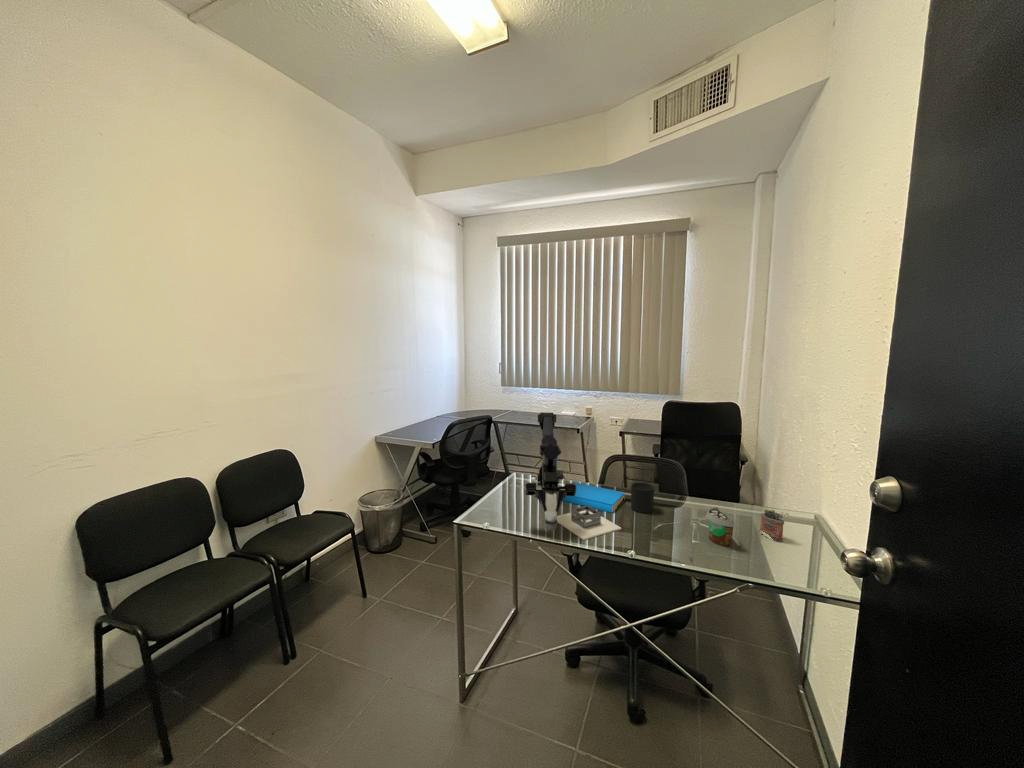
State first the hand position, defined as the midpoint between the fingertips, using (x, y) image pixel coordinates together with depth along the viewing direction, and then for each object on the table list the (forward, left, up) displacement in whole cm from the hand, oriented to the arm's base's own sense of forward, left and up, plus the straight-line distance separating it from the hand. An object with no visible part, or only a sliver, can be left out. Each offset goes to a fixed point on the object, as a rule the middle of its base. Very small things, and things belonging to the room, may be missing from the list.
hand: (551, 511), depth 145 cm
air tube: (-1, +1, -7) cm, 7 cm away
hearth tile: (-2, +18, -9) cm, 20 cm away
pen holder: (-2, +48, -10) cm, 49 cm away
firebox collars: (-2, +18, -9) cm, 20 cm away
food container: (+30, +51, -10) cm, 60 cm away
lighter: (+38, +71, -10) cm, 81 cm away
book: (-20, +35, -10) cm, 42 cm away
